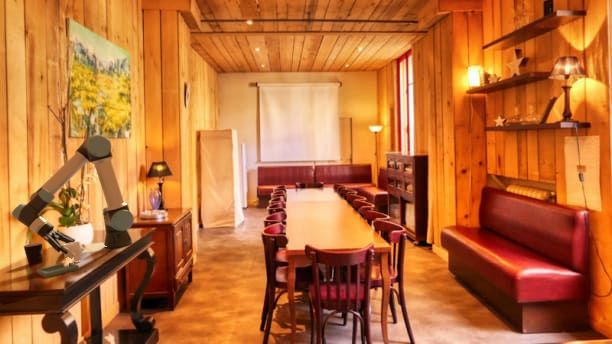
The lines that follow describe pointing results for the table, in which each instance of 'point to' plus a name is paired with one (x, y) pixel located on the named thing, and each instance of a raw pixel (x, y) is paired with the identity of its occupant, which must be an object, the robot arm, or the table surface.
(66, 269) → the tray
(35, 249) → the coffee mug
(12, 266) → the table surface
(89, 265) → the table surface
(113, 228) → the robot arm
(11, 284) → the table surface
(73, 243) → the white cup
